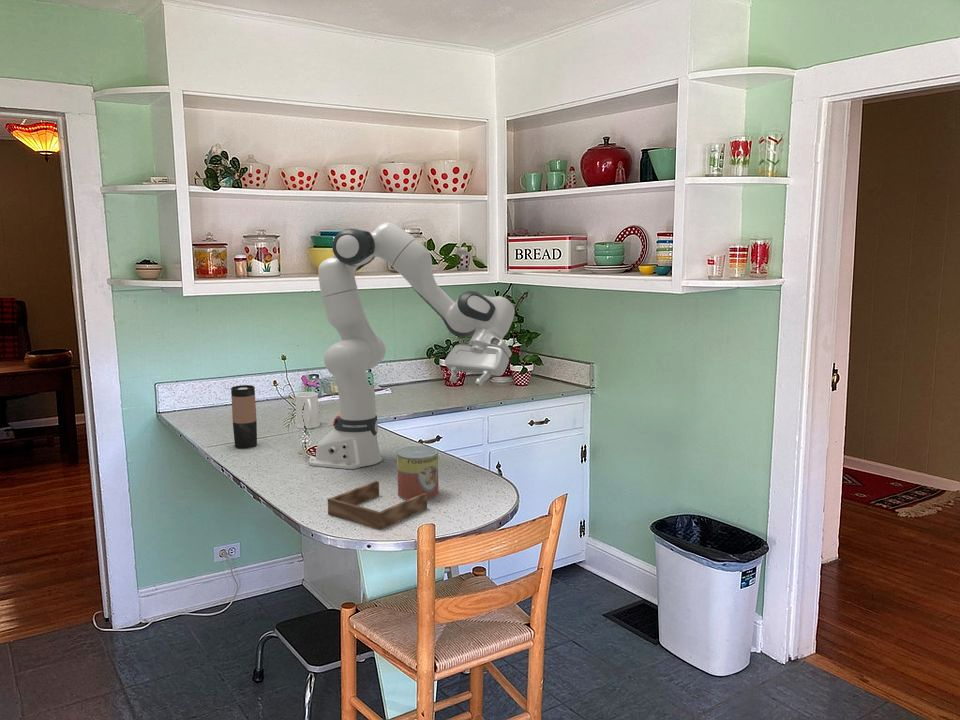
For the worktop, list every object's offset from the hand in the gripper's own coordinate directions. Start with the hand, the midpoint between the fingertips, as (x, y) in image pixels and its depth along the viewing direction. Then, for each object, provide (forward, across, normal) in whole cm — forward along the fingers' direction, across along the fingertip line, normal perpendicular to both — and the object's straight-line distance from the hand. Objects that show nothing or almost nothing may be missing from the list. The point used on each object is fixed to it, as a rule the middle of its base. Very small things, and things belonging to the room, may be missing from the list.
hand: (465, 383), depth 233 cm
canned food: (+35, 0, +4) cm, 35 cm away
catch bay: (+46, 0, -8) cm, 46 cm away
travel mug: (+33, -78, +4) cm, 85 cm away
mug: (+13, -81, +25) cm, 86 cm away
